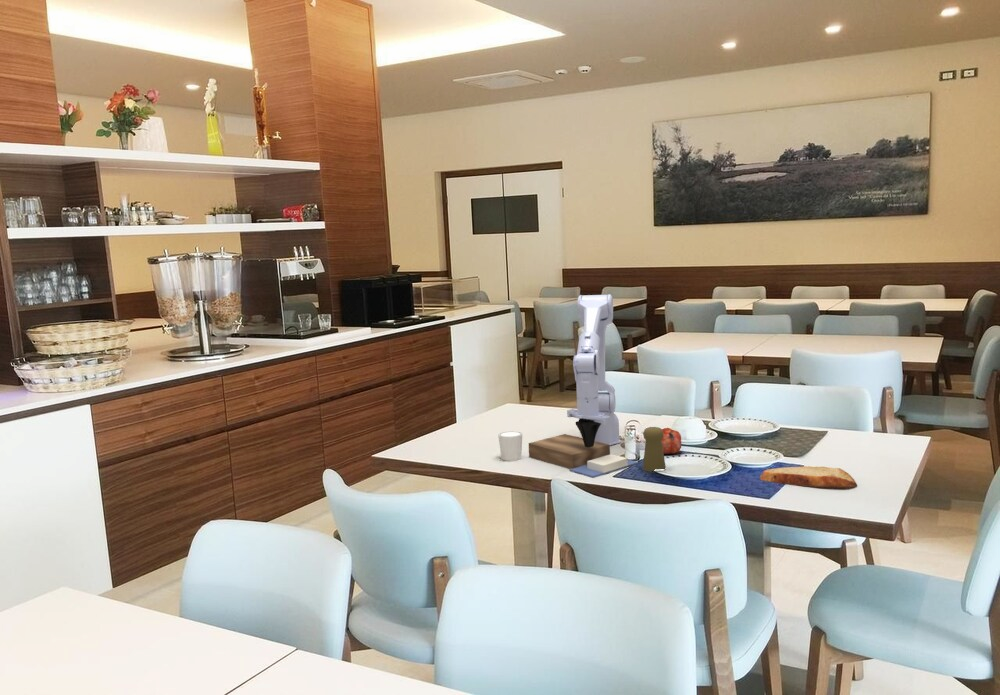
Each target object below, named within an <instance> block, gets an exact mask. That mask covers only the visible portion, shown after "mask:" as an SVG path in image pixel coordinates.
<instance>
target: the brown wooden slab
mask: <svg viewBox="0 0 1000 695" xmlns="http://www.w3.org/2000/svg"><path fill="white" fill-rule="evenodd" d="M610 448H611V445H610V444H605V443H601V442H597V441H594V446H592V447H589V448H588V447H585V445H584V442H583V438H582V437H580V436H575V435H571V434H567V433H563V434H559V435H555V436H551V437H548V438H544V439H540V440H536V441H534V442H533V441H531V442H528V457H529V458H531V459H535V460H538V461H542V462H546V463H548V464H552V465H556V466H560V467H564V468H566V469H569V470H570V469H573V468H577V467H580V466H583V465H587V461H589V460H593V459H596V458H600V457H603V456H606V455H610V454H611V450H610Z"/></svg>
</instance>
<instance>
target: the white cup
mask: <svg viewBox="0 0 1000 695" xmlns="http://www.w3.org/2000/svg"><path fill="white" fill-rule="evenodd" d="M498 443H499V450H500V457H501V460H503V461H507V462H514V461H519V460H521V459H522V450H523V433H522V432H520V431H515V430H514V431H505V432H503V431H502V432H500V433H498Z"/></svg>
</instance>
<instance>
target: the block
mask: <svg viewBox="0 0 1000 695" xmlns="http://www.w3.org/2000/svg"><path fill="white" fill-rule="evenodd" d="M627 460H628V457H624V456H621V455H615V454H612V453H610V455H606V456H603V457H600V458H596V459H593V460H589V461H587V468H588V469H591V470H595V471H598V472H602V473H605V472H609V471H612V470H615V469H618V468H621V467H625V466H628V461H627Z"/></svg>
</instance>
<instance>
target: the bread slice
mask: <svg viewBox="0 0 1000 695" xmlns="http://www.w3.org/2000/svg"><path fill="white" fill-rule="evenodd" d="M759 479H760V480H761V481H763V480H764V481H763V482H768V481H769V483H773V482H775V483H774V484H780V483H781V485H789V486H790V485H791V486H798V487H805V488H807V487H808V488H818V489H839V490H840V489H841V490H842V489H845V490H846V489H852V488H857V487H858V484H857V482H856V480H855V479H854V478H853V476H851V474H850V473H848V472H847V471H846V470H844V469H842V468H840V467H839V468H838V467H826V466H809V465H808V466H792V467H791V466H788V467H777V468H768V469H765V470H763V471H762V473H761V474H760V477H759Z"/></svg>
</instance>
